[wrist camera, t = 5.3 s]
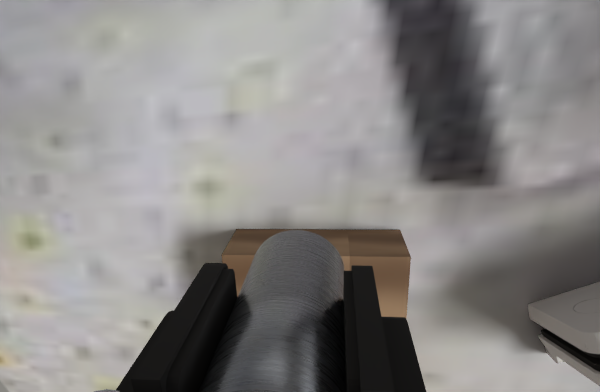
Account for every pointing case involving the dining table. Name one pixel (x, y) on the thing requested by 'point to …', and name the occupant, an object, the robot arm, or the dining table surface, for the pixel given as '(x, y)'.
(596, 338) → the grey half-round piece
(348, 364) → the robot arm
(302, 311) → the pin
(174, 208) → the dining table surface
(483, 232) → the dining table surface
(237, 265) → the block with square hole
